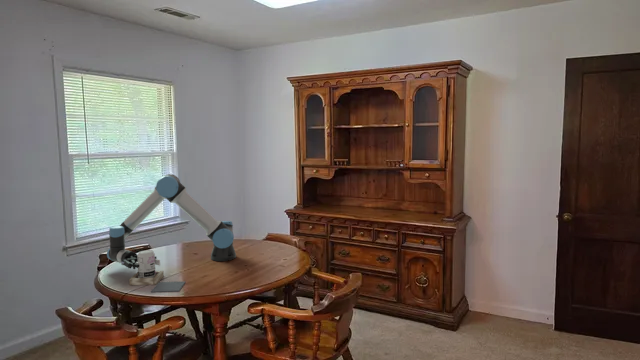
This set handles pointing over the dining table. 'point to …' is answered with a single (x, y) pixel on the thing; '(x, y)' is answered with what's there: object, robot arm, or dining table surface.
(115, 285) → the dining table surface
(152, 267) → the supplement can
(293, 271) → the dining table surface
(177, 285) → the slate mat
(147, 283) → the holder collar
